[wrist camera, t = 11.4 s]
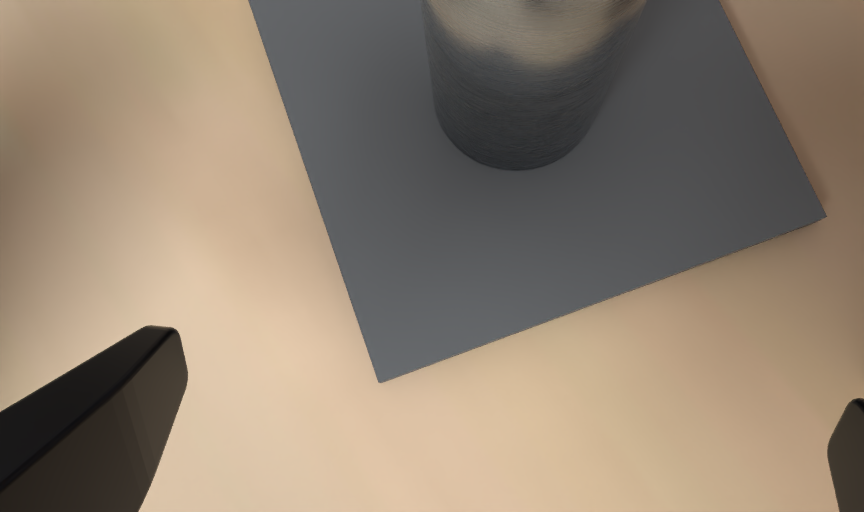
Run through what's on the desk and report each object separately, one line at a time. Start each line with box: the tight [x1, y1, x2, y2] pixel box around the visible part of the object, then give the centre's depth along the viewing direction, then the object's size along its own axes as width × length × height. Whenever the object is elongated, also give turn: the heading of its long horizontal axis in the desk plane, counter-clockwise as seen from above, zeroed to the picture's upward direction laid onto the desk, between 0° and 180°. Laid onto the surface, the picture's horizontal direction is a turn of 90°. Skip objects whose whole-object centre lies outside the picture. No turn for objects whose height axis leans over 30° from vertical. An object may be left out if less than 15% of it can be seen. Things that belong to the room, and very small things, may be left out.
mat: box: [248, 0, 827, 383], centre depth 19 cm, size 12×12×1 cm
